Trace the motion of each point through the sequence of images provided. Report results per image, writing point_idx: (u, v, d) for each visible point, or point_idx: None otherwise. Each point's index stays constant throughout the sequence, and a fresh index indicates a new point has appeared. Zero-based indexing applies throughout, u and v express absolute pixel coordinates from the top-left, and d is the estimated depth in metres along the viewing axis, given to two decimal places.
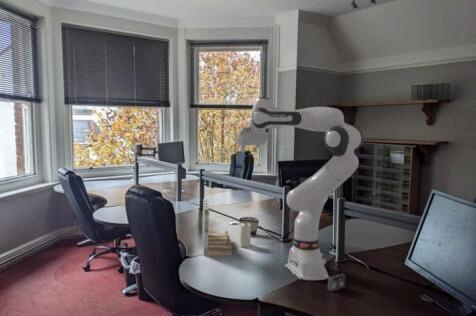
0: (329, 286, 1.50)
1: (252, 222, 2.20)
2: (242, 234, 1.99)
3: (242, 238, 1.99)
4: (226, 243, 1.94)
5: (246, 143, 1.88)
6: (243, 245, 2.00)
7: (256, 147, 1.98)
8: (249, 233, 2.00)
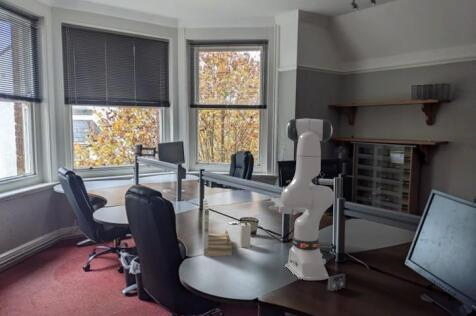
0: (329, 286, 1.50)
1: (252, 222, 2.20)
2: (242, 234, 1.99)
3: (242, 238, 1.99)
4: (226, 243, 1.94)
5: (274, 199, 2.08)
6: (243, 245, 2.00)
7: None
8: (249, 233, 2.00)
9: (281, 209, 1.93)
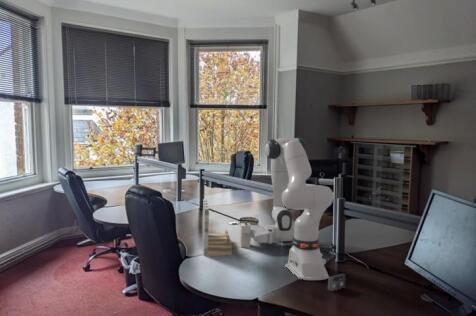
0: (329, 286, 1.50)
1: (252, 222, 2.20)
2: (242, 234, 1.99)
3: (242, 238, 1.99)
4: (226, 243, 1.94)
5: (252, 227, 2.08)
6: (243, 245, 2.00)
7: None
8: (249, 233, 2.00)
9: (256, 238, 1.93)
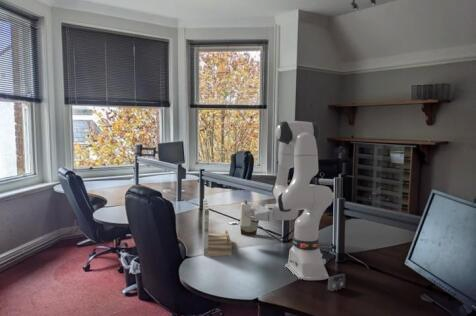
0: (329, 286, 1.50)
1: (252, 222, 2.20)
2: (242, 213, 1.98)
3: (242, 217, 1.98)
4: (226, 243, 1.94)
5: (252, 206, 2.07)
6: (243, 224, 1.99)
7: None
8: (249, 211, 1.98)
9: (256, 216, 1.92)
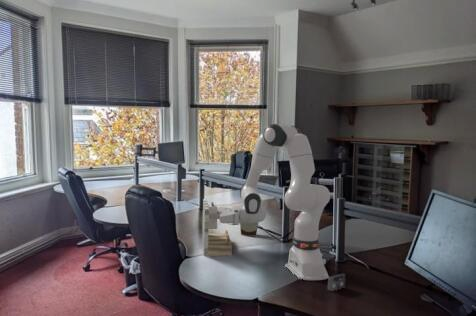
0: (329, 286, 1.50)
1: None
2: None
3: None
4: (226, 243, 1.94)
5: (219, 208, 2.03)
6: (210, 227, 1.95)
7: None
8: (216, 214, 1.94)
9: (221, 218, 1.87)
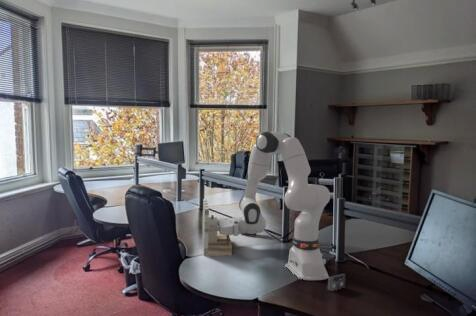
0: (329, 286, 1.50)
1: None
2: None
3: (208, 232, 1.95)
4: (226, 243, 1.94)
5: (219, 219, 2.03)
6: (209, 239, 1.95)
7: None
8: None
9: (221, 230, 1.88)
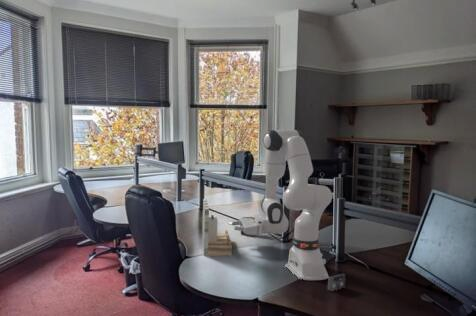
0: (329, 286, 1.50)
1: None
2: None
3: (208, 232, 1.95)
4: (226, 243, 1.94)
5: (242, 219, 2.05)
6: (209, 239, 1.95)
7: None
8: (216, 227, 1.95)
9: (246, 230, 1.89)
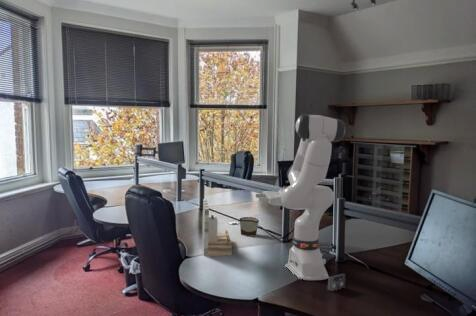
0: (329, 286, 1.50)
1: (252, 222, 2.20)
2: None
3: (208, 232, 1.95)
4: (226, 243, 1.94)
5: (265, 192, 2.02)
6: (209, 239, 1.95)
7: None
8: (216, 227, 1.95)
9: (271, 200, 1.87)
